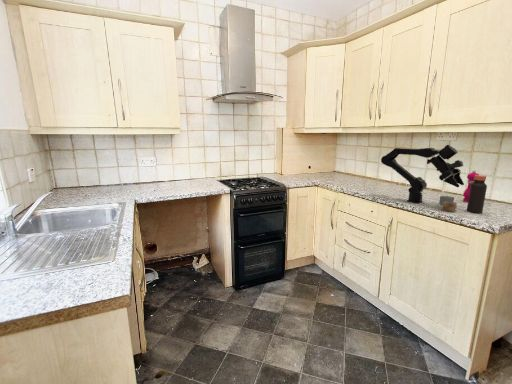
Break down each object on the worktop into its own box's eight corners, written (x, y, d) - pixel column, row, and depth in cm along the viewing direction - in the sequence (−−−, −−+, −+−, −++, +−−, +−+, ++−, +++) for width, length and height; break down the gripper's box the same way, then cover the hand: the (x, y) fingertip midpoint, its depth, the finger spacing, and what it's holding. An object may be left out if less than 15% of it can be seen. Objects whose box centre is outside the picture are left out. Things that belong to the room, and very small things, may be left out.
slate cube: (439, 204, 163) (440, 196, 162) (444, 203, 165) (445, 195, 164) (447, 206, 159) (448, 197, 158) (453, 205, 160) (454, 197, 159)
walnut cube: (442, 211, 148) (443, 202, 147) (444, 209, 152) (445, 200, 151) (453, 212, 145) (454, 204, 144) (455, 211, 148) (456, 202, 147)
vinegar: (475, 210, 149) (481, 174, 145) (485, 213, 143) (492, 176, 139) (463, 209, 150) (469, 174, 146) (472, 213, 143) (478, 176, 139)
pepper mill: (463, 199, 173) (468, 169, 169) (477, 201, 168) (483, 170, 164) (460, 201, 168) (465, 170, 164) (475, 203, 163) (480, 171, 159)
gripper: (448, 156, 144) (470, 178, 138) (458, 154, 156) (479, 175, 150) (430, 169, 152) (450, 191, 145) (441, 166, 163) (460, 187, 157)
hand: (461, 185), depth 149 cm, fingers open, 9 cm apart
